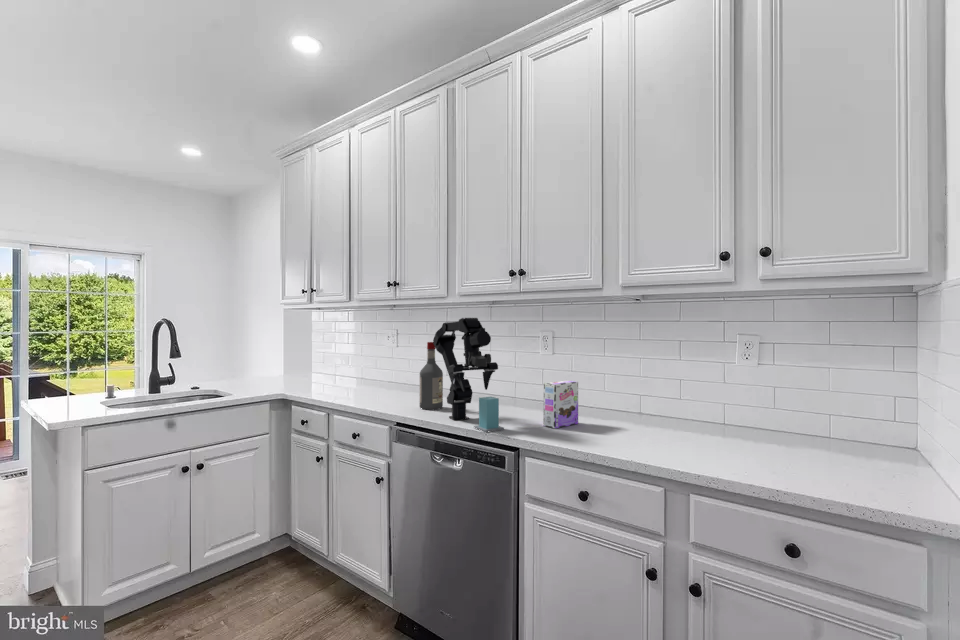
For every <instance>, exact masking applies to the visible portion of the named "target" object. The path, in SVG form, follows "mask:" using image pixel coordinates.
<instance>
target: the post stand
mask: <svg viewBox="0 0 960 640" xmlns="http://www.w3.org/2000/svg"><path fill="white" fill-rule="evenodd" d="M474 427H475V428H477V429H480V430H482V431H484V432H483V433H485V432H486V433H489V432H488V431H493V432H496V431H495V430H500V431H504V430H505V427H503V426H501V425H499V427H498V428H491V429H485V428H482V427H479V424H478V425H473V428H474ZM477 429H476V430H477ZM480 430H479V431H480ZM482 431H481V432H482Z"/></svg>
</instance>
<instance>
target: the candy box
mask: <svg viewBox="0 0 960 640" xmlns="http://www.w3.org/2000/svg"><path fill="white" fill-rule="evenodd" d="M542 423H543V427H546V428H551V429H553V430H554V429H559V428H563V427H569V426H570V427H571V426H573V425H574V426H575V425H578V424H579V381H575V380H574V381H572V380H561V381H551V382H544V383H543V422H542Z"/></svg>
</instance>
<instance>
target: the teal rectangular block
mask: <svg viewBox="0 0 960 640" xmlns="http://www.w3.org/2000/svg"><path fill="white" fill-rule="evenodd" d="M499 401H500V399H499V398H498V397H495V396H484V397H478V425H479V427H482V428H485V429H491V428H498V427H499V426H500V423H499V421H500V418H499V417H500V415H499V414H500V411H499V409H500V407H499V406H500V404H499V403H500V402H499Z"/></svg>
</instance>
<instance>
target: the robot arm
mask: <svg viewBox="0 0 960 640" xmlns="http://www.w3.org/2000/svg"><path fill="white" fill-rule="evenodd" d="M458 331H459V333H463V335H462V337H461V340H463V347H464V353H463V354H462V355H463V357H464V360H465V361H464V362H465V363H464V365H463V364H462V363H458V361H457V359H456V355H455V352H454V346H455V341H456V339H457V336H456V333H455V332H458ZM448 332H449V333H450V332H451V334H446V333H448ZM491 341H492V339H491V336H490V334H489V332H488V331H486V328H485V327H483V325H482V323H481V321H480V320H479V318H478V317H461V318H460V319H458V321H450V322H449V321H445V322H443V324H442V325H441V327H440V328H439V329H438V330H437V331H436V332H435V334H434V337H433V340H432V342H433V344H434V346H435V351H437V352H438V353H439V354H440V355H441V356H442V359H443V361H444V364H445V368H446V371H447V373H448V377H449V380H450V383H451V384H450V387H449V393H448V395H447V397H446V401H447V404H448V405H451V415H449V416H448V418H449V419H451V420H454V421H460V420H459V419H463V420H470V418H469V417H468V416H467V404H472V398H473V389H472V385H471V384H470V381H469V379H468V378H465V372H464V371H481V370H483V372H482V379H483V386H484V390H486V391H487V390H488V388H489V384H490V379H491V378H492V374H493V373H495V372H496V370H499V365H498V363H497V362H492V355H491V354H490V353H484V355H482V350H480V348H483V347H486V346H488V345H489V344H490V343H491Z"/></svg>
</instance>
